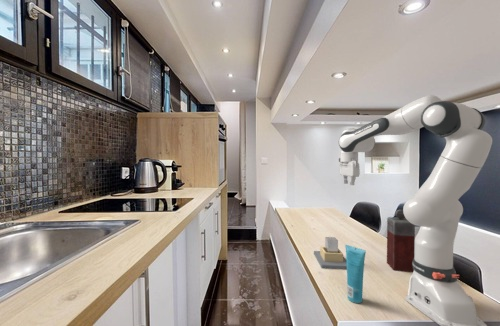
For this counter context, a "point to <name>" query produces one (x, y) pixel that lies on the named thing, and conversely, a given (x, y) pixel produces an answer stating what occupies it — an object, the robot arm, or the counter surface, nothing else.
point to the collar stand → (330, 259)
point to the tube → (355, 273)
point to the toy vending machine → (400, 242)
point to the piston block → (331, 245)
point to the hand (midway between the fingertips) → (348, 184)
